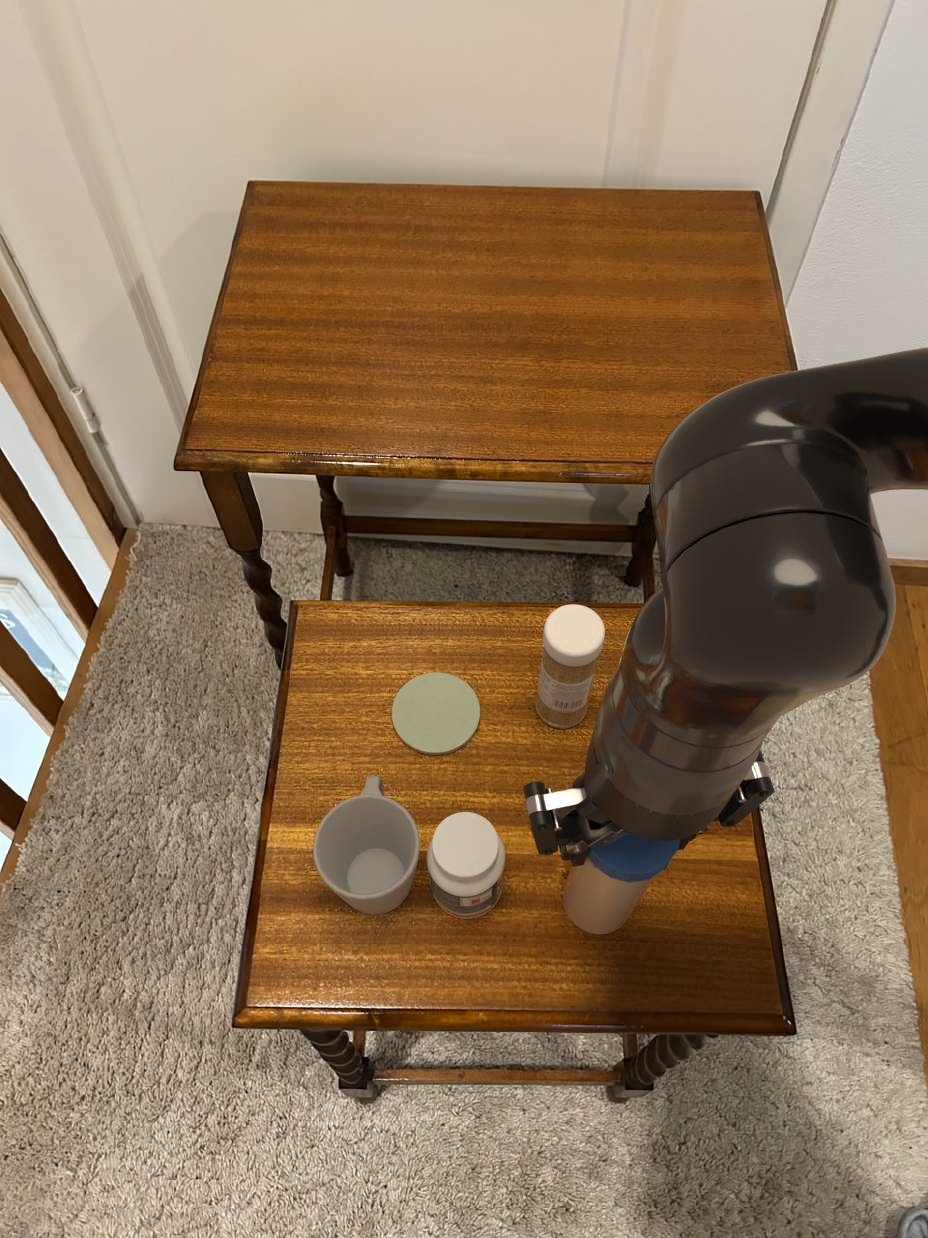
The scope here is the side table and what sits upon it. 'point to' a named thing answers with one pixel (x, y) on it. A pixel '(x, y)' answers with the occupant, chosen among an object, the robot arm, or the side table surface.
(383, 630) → the side table surface
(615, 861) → the lid
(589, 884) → the beige plastic cylinder
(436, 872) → the pill bottle
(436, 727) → the coaster
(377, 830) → the cup
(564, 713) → the sprinkles bottle
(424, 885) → the side table surface
